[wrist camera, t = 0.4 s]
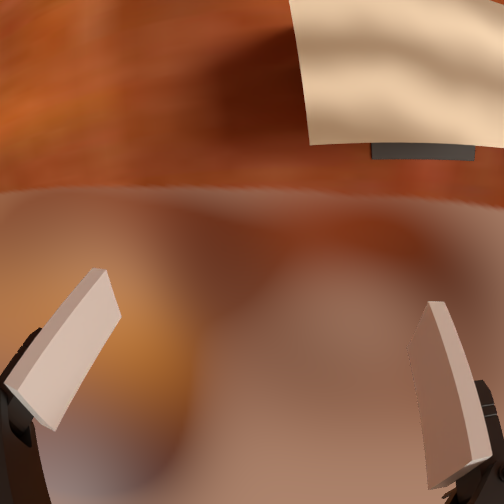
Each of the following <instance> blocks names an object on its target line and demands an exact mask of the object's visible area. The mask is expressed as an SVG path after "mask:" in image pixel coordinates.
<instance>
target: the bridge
mask: <svg viewBox="0 0 504 504" xmlns="http://www.w3.org/2000/svg"><path fill="white" fill-rule="evenodd" d="M289 4H290V9H291V14H292V20H293V26H294V31H295V37H296V43H297V50H298V56H299V63H300V69H301V76H302V84H303V91H304V99H305V106H306V115H307V123H308V132H309V141H310V145H322V144H343V143H381V142H406V143H443V144H462V145H477V146H489V147H499V148H504V5H502V4H499V3H496V2H493V1H489V0H289Z"/></svg>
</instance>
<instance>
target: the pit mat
mask: <svg viewBox="0 0 504 504" xmlns="http://www.w3.org/2000/svg"><path fill="white" fill-rule="evenodd" d="M371 147H372V159H438V160H466V161H474V158H475V145H462V144H443V143H406V142H381V143H371Z"/></svg>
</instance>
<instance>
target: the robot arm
mask: <svg viewBox="0 0 504 504" xmlns="http://www.w3.org/2000/svg"><path fill="white" fill-rule="evenodd" d="M120 318H121V314H120V311H119V308H118V305H117V302H116V299H115V296H114V293H113V290H112V286H111V283H110V280H109V277H108V274H107V270H106V269H98V268H92V269H91V270H90V271H89V272H88V274H87V275H86V276H85V277H84V278H83V279H82V280H81V282H80V283H79V284H78V285H77V287H75V289H74V290H73V291H72V292H71V293H70V295H69V296H68V297H67V298H66V300H65V301H64V302H63V303H62V304H61V306H60V307H59V308H58V309H57V311H56V312H55V313H54V315H53V316H52V317H51V318H50V320H49V321H48V322H47V323H46V325H45V326H44V328H43V329H42V328H38V329H37V330H36V331H34V332H33V333H32V334H30V335H29V337H28V338H27V339H26V341H25V342H24V343H23V346H21V347H20V349H19V350H18V353H17V354H15V356H14V357H13V358H12V360H11V361H10V363H9V364H8V365H7V367H6V368H5V370H4V371H3V373H2V374H1V376H0V504H51V501H50V497H49V494H48V490H47V487H46V482H45V478H44V474H43V470H42V465H41V461H40V456H39V451H38V445H37V440H36V433H35V427H34V424H33V422H32V419H33V417H35V418H36V419H37V421H38V422H40V424H42V425H44V426H45V427H47V428H49V429H51V430H53V431H56V429H57V427H58V425H59V423H60V421H61V419H62V417H63V416H64V414H65V412H66V410H67V408H68V406H69V404H70V403H71V401H72V399H73V397H74V395H75V394H76V392H77V390H78V388H79V387H80V385H81V383H82V381H83V380H84V378H85V376H86V374H87V373H88V371H89V369H90V368H91V366H92V364H93V362H94V361H95V359H96V357H97V356H98V354H99V352H100V351H101V349H102V347H103V346H104V344H105V342H106V341H107V339H108V337H109V336H110V334H111V333H112V331H113V330H114V328H115V326H116V325H117V323H118V322H119V320H120ZM407 351H408V356H409V360H410V365H411V369H412V375H413V380H414V384H415V390H416V395H417V401H418V407H419V413H420V419H421V427H422V434H423V442H424V450H425V459H426V469H427V481H428V490H431V489H437V488H442V487H447V486H449V485H450V484H452V483H453V482H455V481H456V488H454V489H452V490H451V491H449V492H447V493H445V494H444V496H443V497H442V498H443V499H444V498H446V497H448V496H449V498H448V499H447V501H446V502H445V504H504V438H503V434H502V430H501V426H500V422H499V419H498V416H497V411H496V408H495V406H494V401H493V398H492V394H491V391H490V390H489V388H488V387H487V385H486V384H485V382H484V381H483V380H478V381H474V380H473V377H472V374H471V371H470V368H469V365H468V362H467V359H466V356H465V353H464V350H463V348H462V345H461V342H460V340H459V337H458V334H457V331H456V329H455V326H454V324H453V321H452V319H451V316H450V314H449V312H448V309H447V307H446V305H445V302H436V301H435V302H434V301H428V303H427V305H426V308H425V310H424V312H423V315H422V317H421V319H420V321H419V324H418V326H417V328H416V330H415V332H414V334H413V337H412V339H411V341H410V343H409V345H408V347H407Z"/></svg>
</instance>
